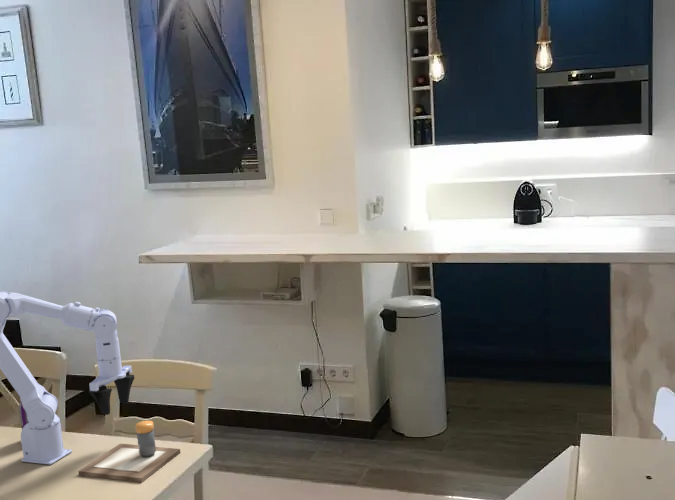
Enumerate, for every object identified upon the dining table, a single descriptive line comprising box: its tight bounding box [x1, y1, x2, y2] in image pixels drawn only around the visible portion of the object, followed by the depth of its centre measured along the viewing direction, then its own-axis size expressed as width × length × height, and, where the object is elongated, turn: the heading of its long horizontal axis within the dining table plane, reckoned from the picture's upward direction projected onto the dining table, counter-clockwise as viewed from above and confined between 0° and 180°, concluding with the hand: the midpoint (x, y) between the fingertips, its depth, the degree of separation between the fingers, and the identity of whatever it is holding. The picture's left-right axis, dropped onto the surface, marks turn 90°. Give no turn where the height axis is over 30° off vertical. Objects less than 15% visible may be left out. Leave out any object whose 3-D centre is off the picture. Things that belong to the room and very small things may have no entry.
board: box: [77, 443, 181, 483], centre depth 175 cm, size 18×16×1 cm
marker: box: [135, 420, 157, 458], centre depth 176 cm, size 4×4×8 cm
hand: (115, 408), depth 186 cm, fingers open, 7 cm apart
